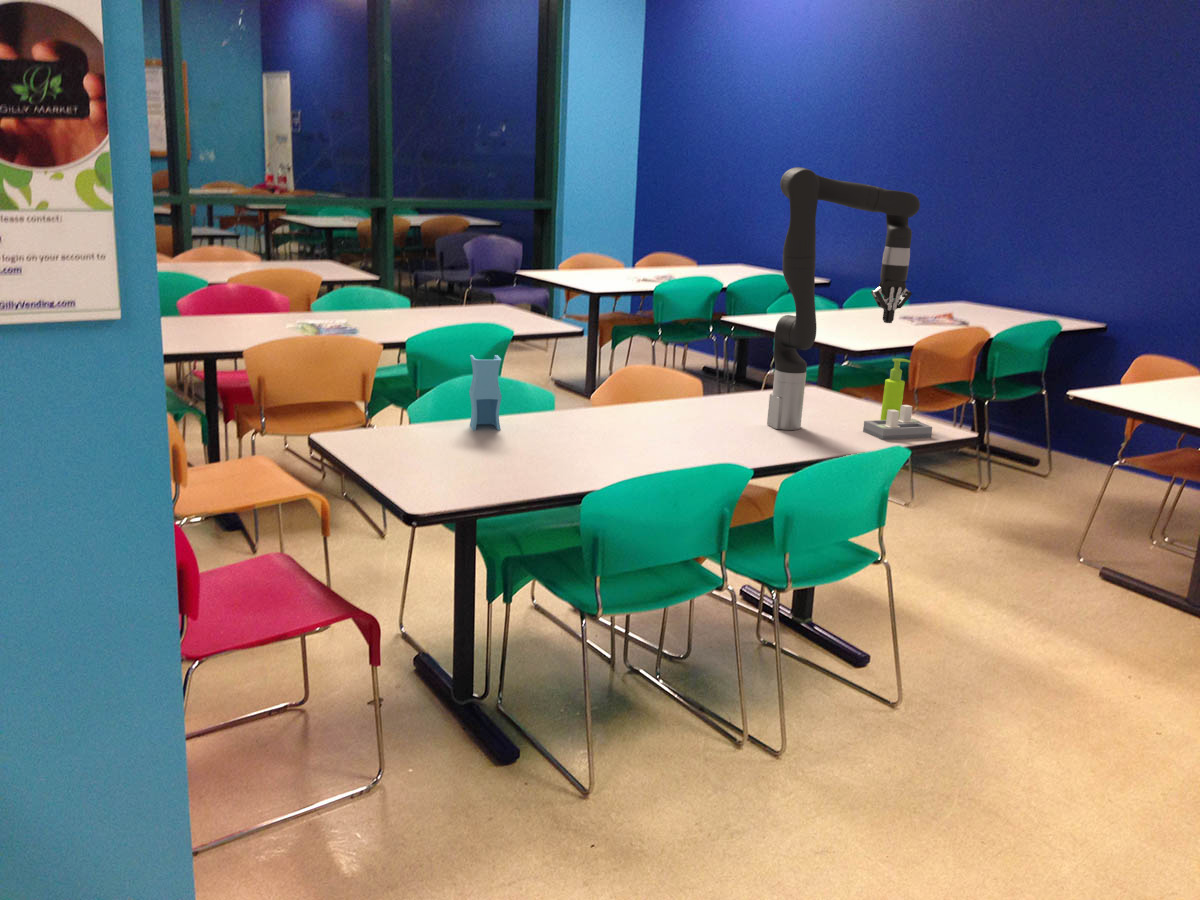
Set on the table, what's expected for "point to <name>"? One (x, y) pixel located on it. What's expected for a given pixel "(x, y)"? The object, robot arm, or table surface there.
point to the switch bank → (897, 430)
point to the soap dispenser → (893, 390)
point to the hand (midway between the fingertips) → (887, 322)
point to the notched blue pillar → (485, 392)
